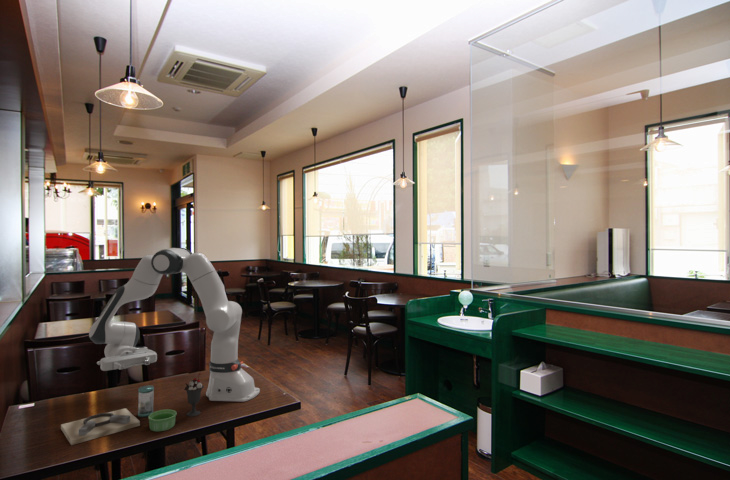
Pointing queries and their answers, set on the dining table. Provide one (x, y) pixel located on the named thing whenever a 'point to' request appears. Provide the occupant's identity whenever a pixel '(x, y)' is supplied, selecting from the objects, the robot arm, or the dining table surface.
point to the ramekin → (162, 420)
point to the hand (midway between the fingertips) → (135, 364)
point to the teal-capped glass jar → (145, 401)
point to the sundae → (194, 395)
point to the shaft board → (99, 426)
